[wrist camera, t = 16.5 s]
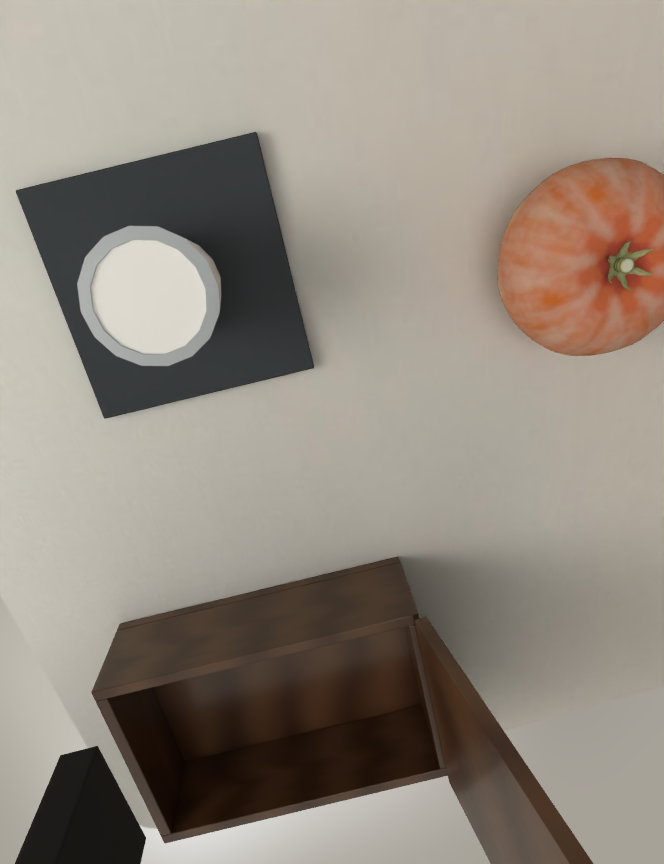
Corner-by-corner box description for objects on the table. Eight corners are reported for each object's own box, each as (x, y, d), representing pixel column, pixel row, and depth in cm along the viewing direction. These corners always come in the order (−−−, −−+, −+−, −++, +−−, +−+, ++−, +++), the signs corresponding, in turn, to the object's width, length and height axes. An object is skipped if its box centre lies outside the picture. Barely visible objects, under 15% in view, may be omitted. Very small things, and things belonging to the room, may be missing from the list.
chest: (180, 762, 48) (164, 843, 42) (119, 623, 43) (90, 692, 37) (430, 702, 48) (452, 774, 42) (398, 556, 43) (418, 613, 37)
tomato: (445, 243, 36) (488, 247, 28) (594, 125, 34) (681, 95, 27) (533, 374, 39) (592, 409, 32) (672, 272, 37) (769, 284, 30)
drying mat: (106, 416, 38) (104, 419, 37) (19, 191, 33) (14, 190, 32) (313, 366, 38) (314, 368, 37) (256, 133, 33) (256, 131, 32)
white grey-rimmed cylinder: (110, 329, 35) (71, 353, 29) (122, 213, 33) (81, 209, 27) (222, 351, 36) (208, 379, 30) (240, 239, 34) (230, 242, 28)
